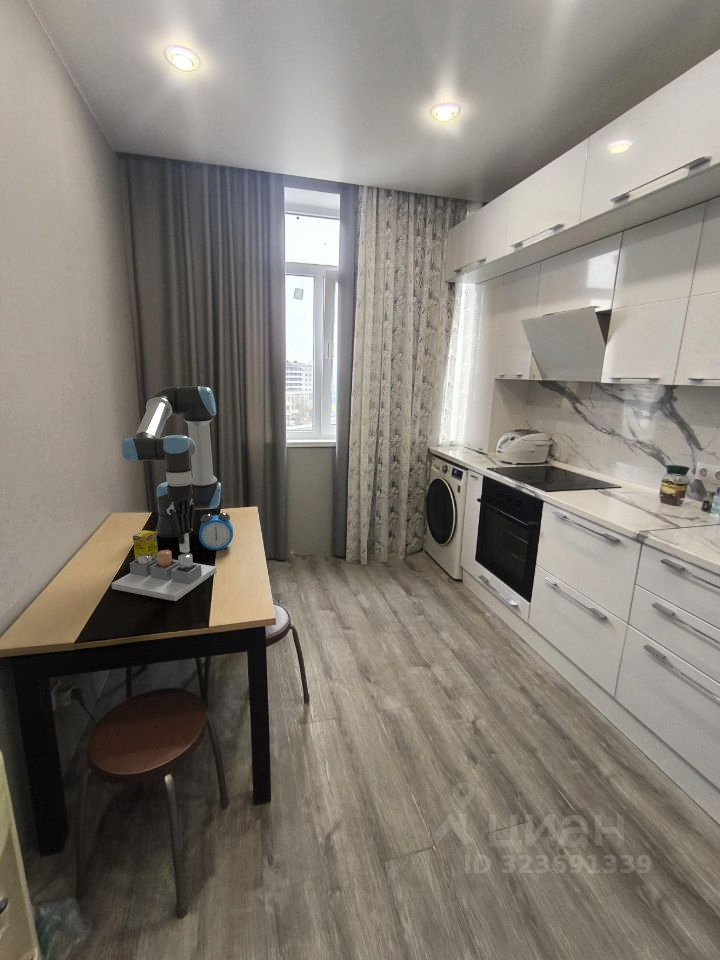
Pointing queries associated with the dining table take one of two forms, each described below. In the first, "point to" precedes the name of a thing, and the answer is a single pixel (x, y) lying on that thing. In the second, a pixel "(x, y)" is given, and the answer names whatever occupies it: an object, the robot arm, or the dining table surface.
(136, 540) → the supplement box
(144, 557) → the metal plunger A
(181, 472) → the robot arm
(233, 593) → the dining table surface
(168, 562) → the brown egg
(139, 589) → the button board
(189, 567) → the silver egg
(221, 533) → the alarm clock
